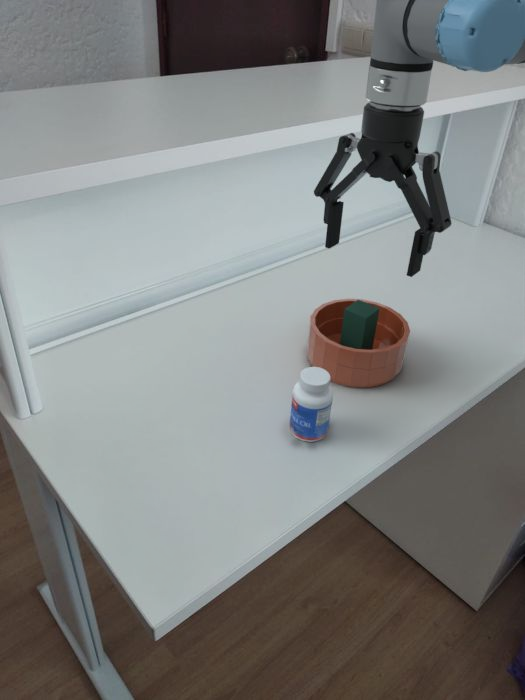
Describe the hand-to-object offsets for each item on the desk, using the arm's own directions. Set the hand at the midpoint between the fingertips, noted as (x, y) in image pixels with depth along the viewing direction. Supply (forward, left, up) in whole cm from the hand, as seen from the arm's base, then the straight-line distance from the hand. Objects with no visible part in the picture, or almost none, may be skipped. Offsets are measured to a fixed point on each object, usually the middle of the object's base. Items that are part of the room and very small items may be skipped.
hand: (371, 258), depth 85 cm
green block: (0, 0, -18) cm, 18 cm away
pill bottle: (-4, +19, -19) cm, 27 cm away
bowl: (0, 0, -18) cm, 18 cm away
